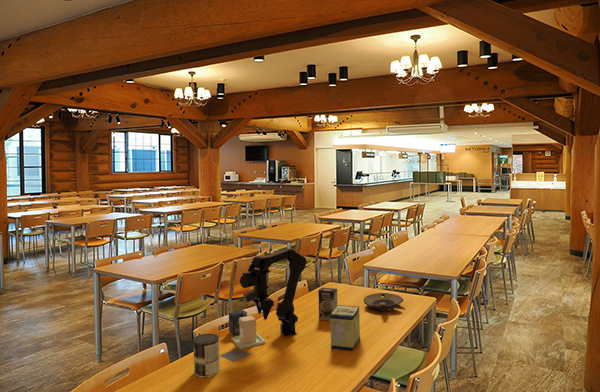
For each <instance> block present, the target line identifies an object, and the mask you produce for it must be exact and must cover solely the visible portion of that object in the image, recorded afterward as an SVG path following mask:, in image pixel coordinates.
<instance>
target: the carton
mask: <svg viewBox="0 0 600 392" xmlns="http://www.w3.org/2000/svg"><path fill="white" fill-rule="evenodd" d="M256 319H257V318H255V317H253V316H252V315H247V316H246V317H240V318H239V325H240V334H239V336H240V341H241V342H242V343H243V344H244V345H245V344H250V343H254V342H256V333H257V320H256Z"/></svg>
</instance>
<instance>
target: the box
mask: <svg viewBox="0 0 600 392" xmlns="http://www.w3.org/2000/svg"><path fill="white" fill-rule="evenodd" d="M246 316H248V312H247V311H246V310H244V309H239V310H235V311H229V312H228V334H230V335H232V336H239V335H240V325H239V318H240V317H246Z"/></svg>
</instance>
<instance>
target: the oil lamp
mask: <svg viewBox="0 0 600 392" xmlns="http://www.w3.org/2000/svg"><path fill="white" fill-rule="evenodd" d="M403 298H404V297H402V296H400V295H398V294H395V293H388V292H378V293H377V292H376V293H371V294H369V295H366V296H365V297H364V298H363V303H364V304H365V305H366V306H368V307H370V308H372V309H375V310H379V311H381V312H386V311H388V310H389V311H390V310H392V309H396V308H398V307H400V306H401V303H403V302H404V299H403Z"/></svg>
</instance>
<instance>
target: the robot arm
mask: <svg viewBox="0 0 600 392" xmlns="http://www.w3.org/2000/svg"><path fill="white" fill-rule="evenodd" d="M283 260H287V261H288V267H289V276H288V280H287V282H286V288H285V292H284V295H283V299H282V301H281V302H278V303H277V306H276V309H275V311H276V312H275V315H276V317H277V318H278V319H277V320H278V321H280V327H279V328H280V331H279V332H280V334H282V336H283V337H289V336H294V335H297V332H296V323H298V320H299V317H298V316H297V315H296V314H295V305H294V299H295V296H296V292H297V287H298V284H299V279H300V275H301V274H302V272H303V271H305V268H306V266H307V258H306V257H305V256H303V255H301V254H300V253H298V252H296V251H295V250H294V249H292V248H287V247H286V248H283V249H282V250H279V251H276V252H273V253H270V254H267V255H256V256H253V259H252V261H251V263H250V265H249V267H248V270H247V272H242V275H241V276H240V278H239V284H240V285H241V287H242V289H247V288H250V287H253V288H252V289H250V290H248V291H245V292H244V293H242V296H243V299H244V301H245V302H247V303H249V302H251V301H253V302H254V304H255V305H256V309H257V314H259V315H261V314H262V317H263V320H264V321H266V320H267V319H268V316H269V314H270V313H271V310H272V308H273V307H274V306H275V301H274V300H273V299H272V298H270V294H269V293H268V291H269V290H268V289H270V288H269V285H268V274H269V273H271V270H270V269H269V268H270V267H272V265H273V264H276V263H278V262H281V261H283Z"/></svg>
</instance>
